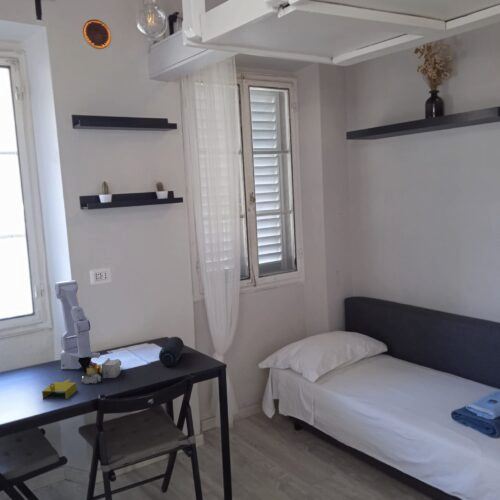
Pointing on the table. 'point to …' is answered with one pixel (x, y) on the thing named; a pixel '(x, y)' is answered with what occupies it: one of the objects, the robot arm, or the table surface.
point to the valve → (94, 369)
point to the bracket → (61, 388)
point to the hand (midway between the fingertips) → (86, 372)
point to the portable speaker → (171, 351)
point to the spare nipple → (91, 378)
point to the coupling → (111, 368)
